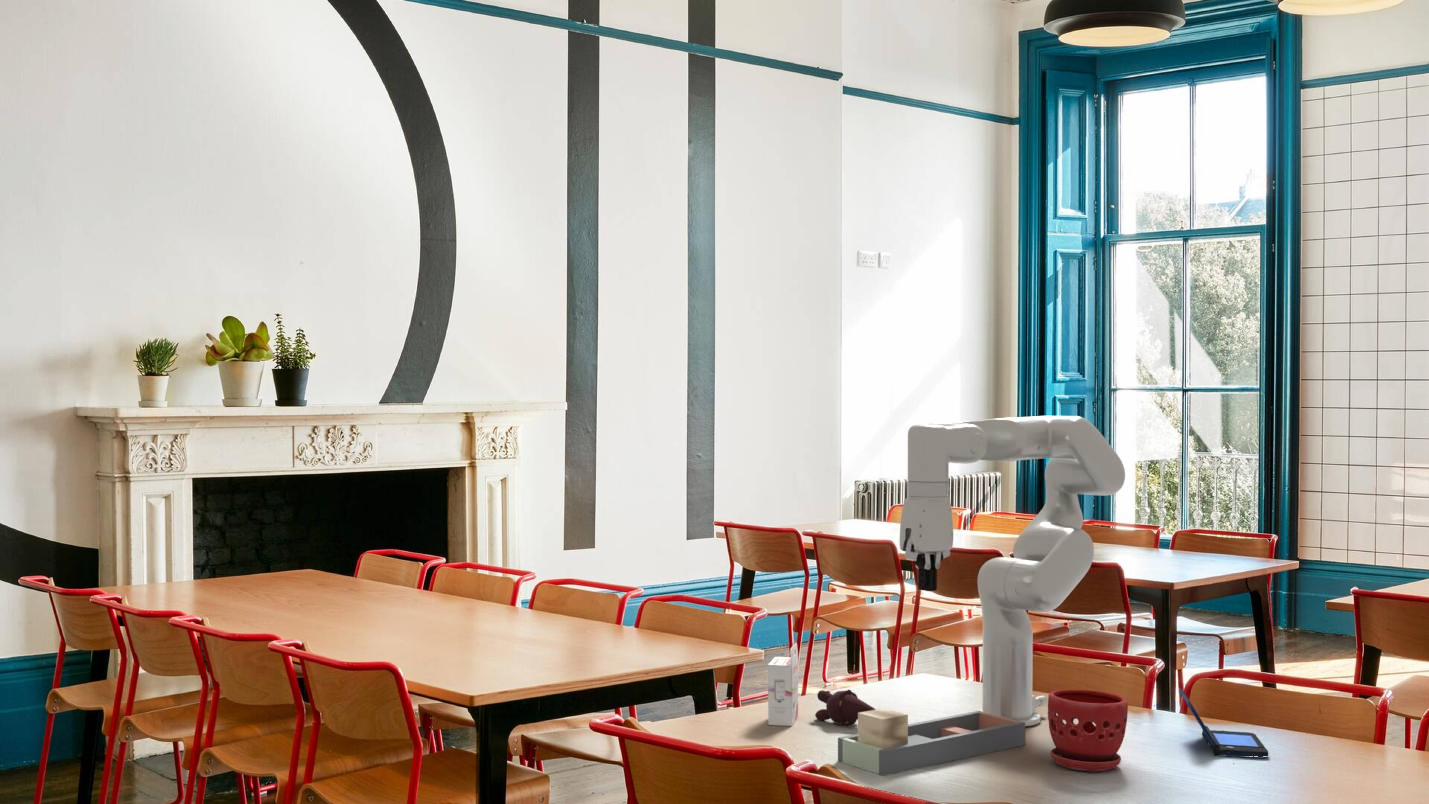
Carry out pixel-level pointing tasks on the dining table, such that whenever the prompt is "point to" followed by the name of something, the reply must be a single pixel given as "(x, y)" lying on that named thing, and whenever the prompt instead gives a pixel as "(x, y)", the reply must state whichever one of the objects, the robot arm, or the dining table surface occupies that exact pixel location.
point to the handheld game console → (1229, 739)
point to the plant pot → (1087, 728)
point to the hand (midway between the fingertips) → (927, 589)
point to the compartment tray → (935, 743)
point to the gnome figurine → (841, 707)
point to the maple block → (883, 728)
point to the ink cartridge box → (783, 689)
